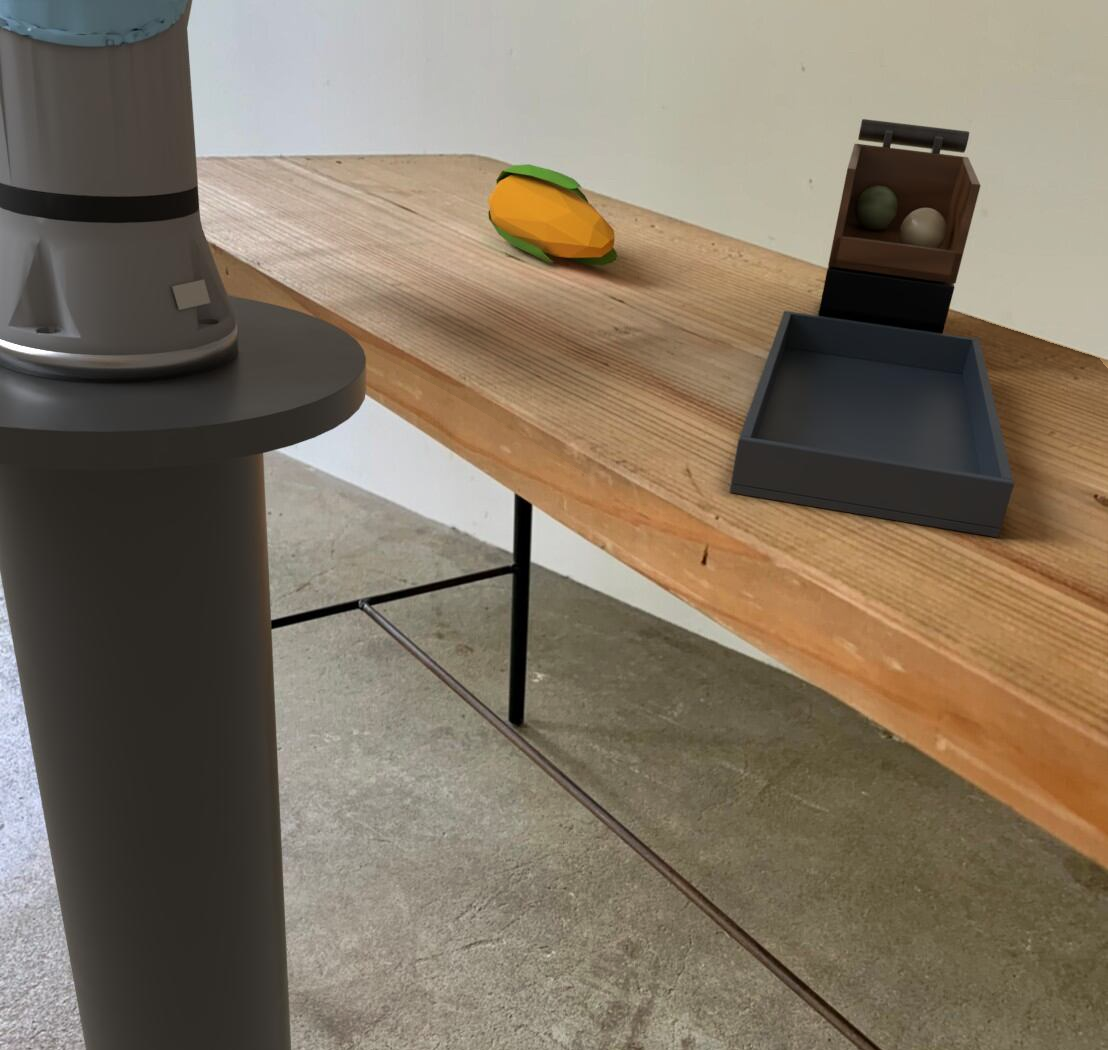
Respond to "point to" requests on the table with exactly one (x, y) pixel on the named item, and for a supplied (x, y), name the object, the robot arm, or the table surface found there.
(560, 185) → the corn
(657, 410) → the table surface
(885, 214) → the ball sage
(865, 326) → the tray
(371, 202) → the table surface
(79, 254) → the robot arm
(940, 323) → the stand
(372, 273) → the table surface
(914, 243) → the ball ivory
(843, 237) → the brown wooden tipping box
